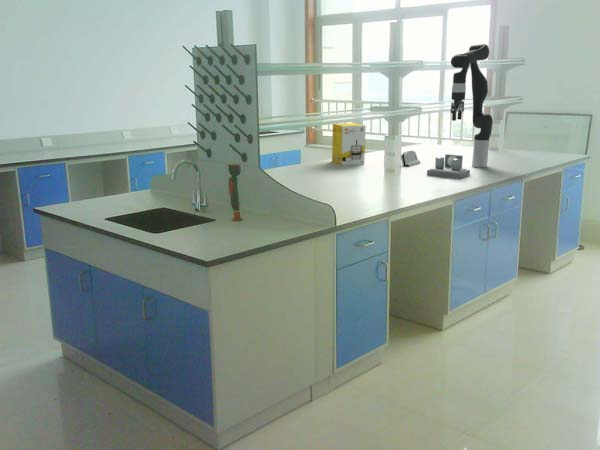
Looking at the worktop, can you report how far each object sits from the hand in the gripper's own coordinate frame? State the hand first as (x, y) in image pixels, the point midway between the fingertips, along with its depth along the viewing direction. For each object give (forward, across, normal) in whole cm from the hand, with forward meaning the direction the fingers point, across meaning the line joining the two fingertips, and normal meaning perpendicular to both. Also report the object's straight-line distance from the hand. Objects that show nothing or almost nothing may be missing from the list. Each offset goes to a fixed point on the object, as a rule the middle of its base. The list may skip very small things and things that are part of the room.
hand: (456, 120), depth 347 cm
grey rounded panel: (+32, -20, -37) cm, 53 cm away
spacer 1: (+28, +4, -7) cm, 29 cm away
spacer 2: (+28, +4, +3) cm, 29 cm away
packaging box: (+32, -2, -73) cm, 80 cm away
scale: (+32, +2, -2) cm, 32 cm away
